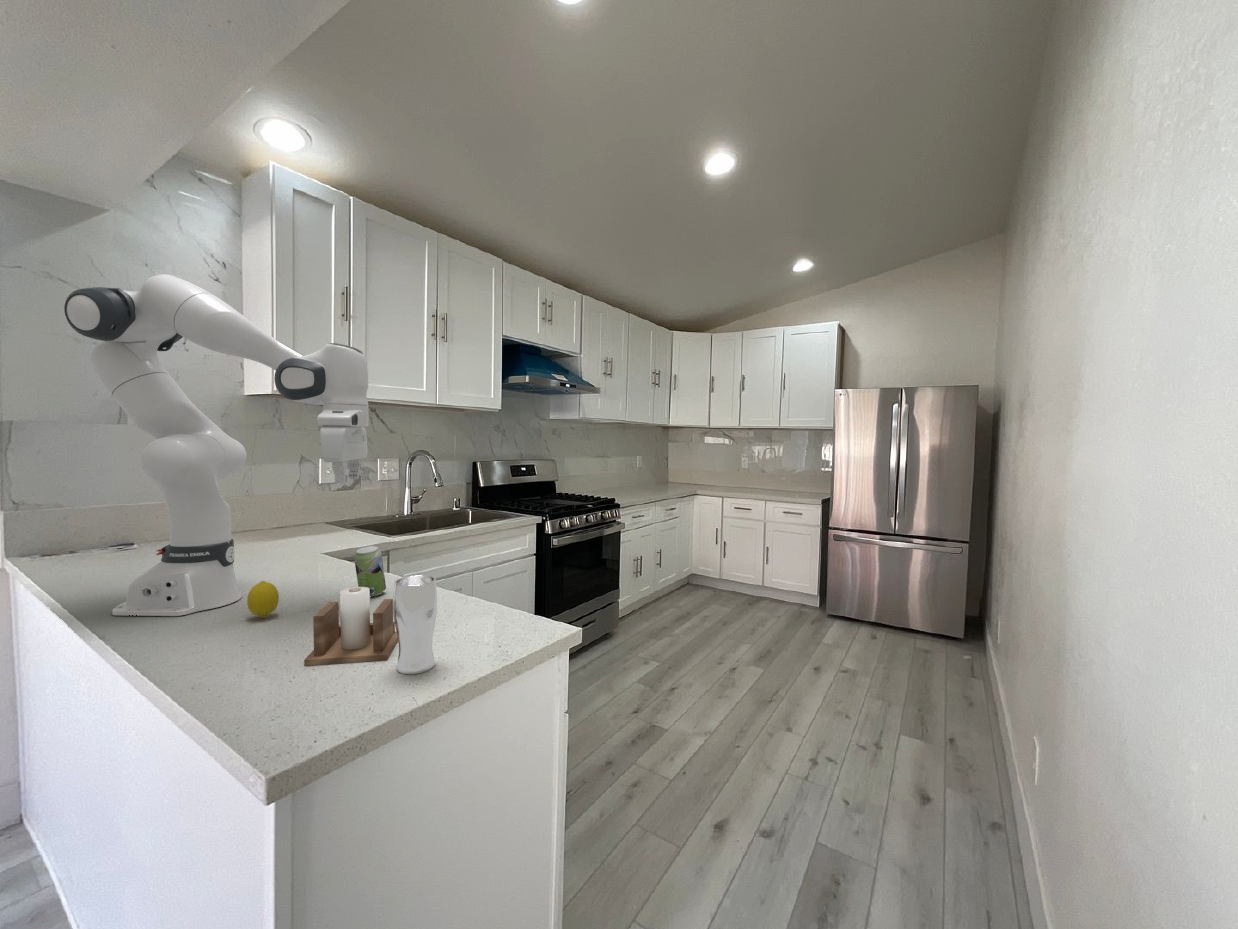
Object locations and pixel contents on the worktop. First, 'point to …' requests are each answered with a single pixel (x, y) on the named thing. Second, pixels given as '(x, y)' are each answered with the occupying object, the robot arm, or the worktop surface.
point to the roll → (355, 617)
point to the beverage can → (370, 569)
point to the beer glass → (415, 622)
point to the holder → (330, 637)
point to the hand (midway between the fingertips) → (347, 480)
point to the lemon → (263, 599)
